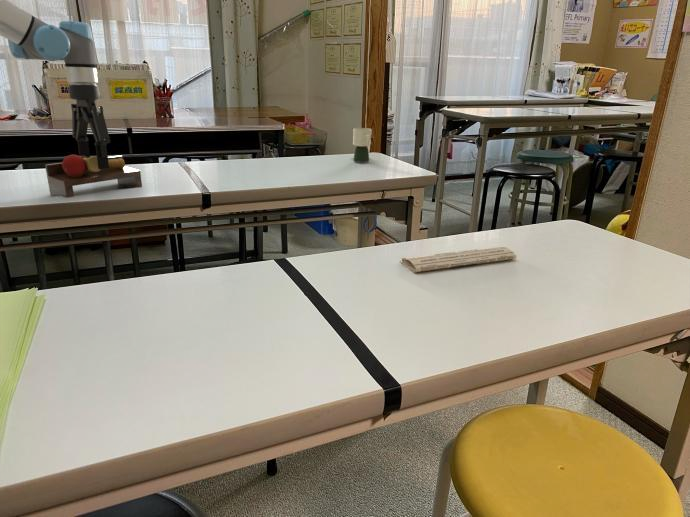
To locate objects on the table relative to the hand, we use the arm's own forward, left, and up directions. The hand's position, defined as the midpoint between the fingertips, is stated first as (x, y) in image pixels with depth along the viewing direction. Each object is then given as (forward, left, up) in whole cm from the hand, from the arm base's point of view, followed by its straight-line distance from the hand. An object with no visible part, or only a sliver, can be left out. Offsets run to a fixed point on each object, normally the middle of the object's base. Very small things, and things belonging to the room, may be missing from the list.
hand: (94, 166), depth 147 cm
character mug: (+98, +4, -8) cm, 98 cm away
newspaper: (+50, -94, -8) cm, 107 cm away
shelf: (0, +2, -8) cm, 8 cm away
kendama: (0, +1, -2) cm, 3 cm away
